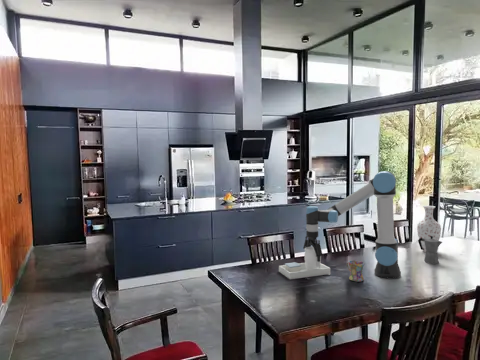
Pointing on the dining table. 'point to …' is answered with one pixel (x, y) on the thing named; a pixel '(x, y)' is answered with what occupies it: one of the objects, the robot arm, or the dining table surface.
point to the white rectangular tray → (304, 271)
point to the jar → (310, 258)
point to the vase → (428, 226)
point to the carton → (292, 269)
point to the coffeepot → (430, 249)
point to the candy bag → (356, 270)
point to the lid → (292, 265)
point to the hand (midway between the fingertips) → (312, 263)
